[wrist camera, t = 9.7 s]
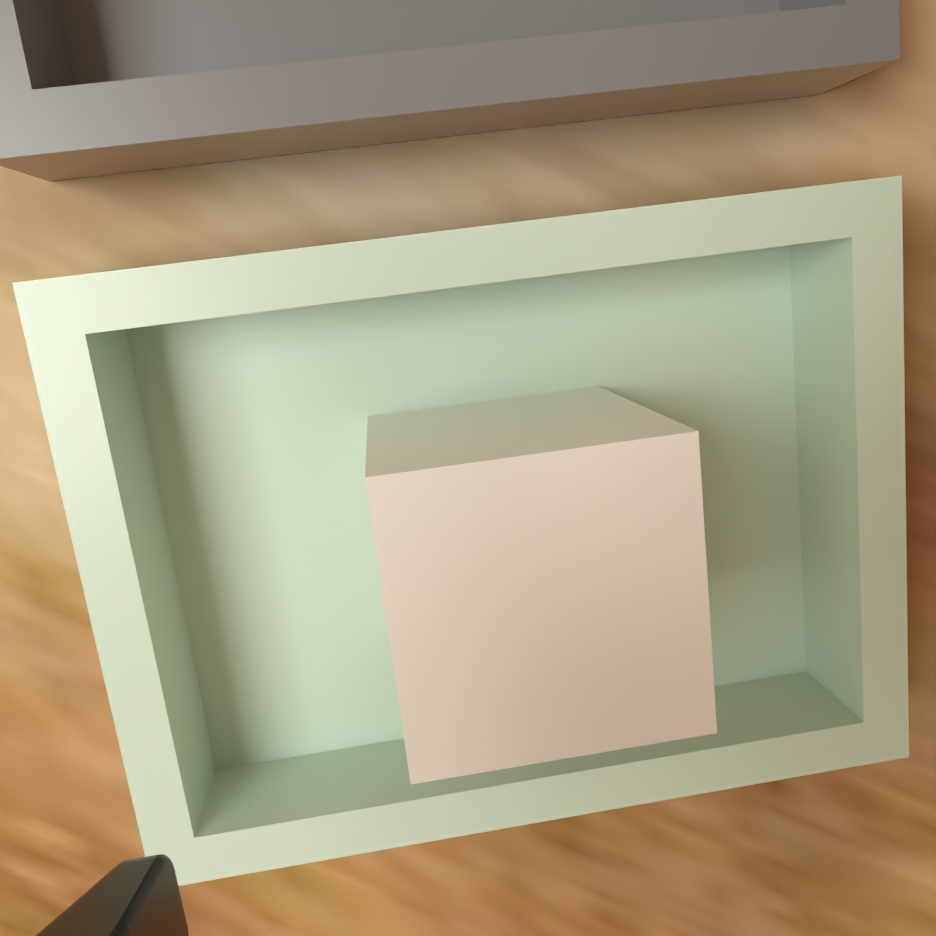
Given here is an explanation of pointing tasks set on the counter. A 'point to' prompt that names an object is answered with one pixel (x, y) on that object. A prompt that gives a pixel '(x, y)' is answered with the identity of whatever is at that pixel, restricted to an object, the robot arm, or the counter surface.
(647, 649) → the stone block
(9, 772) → the counter surface
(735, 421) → the bin
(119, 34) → the bin
